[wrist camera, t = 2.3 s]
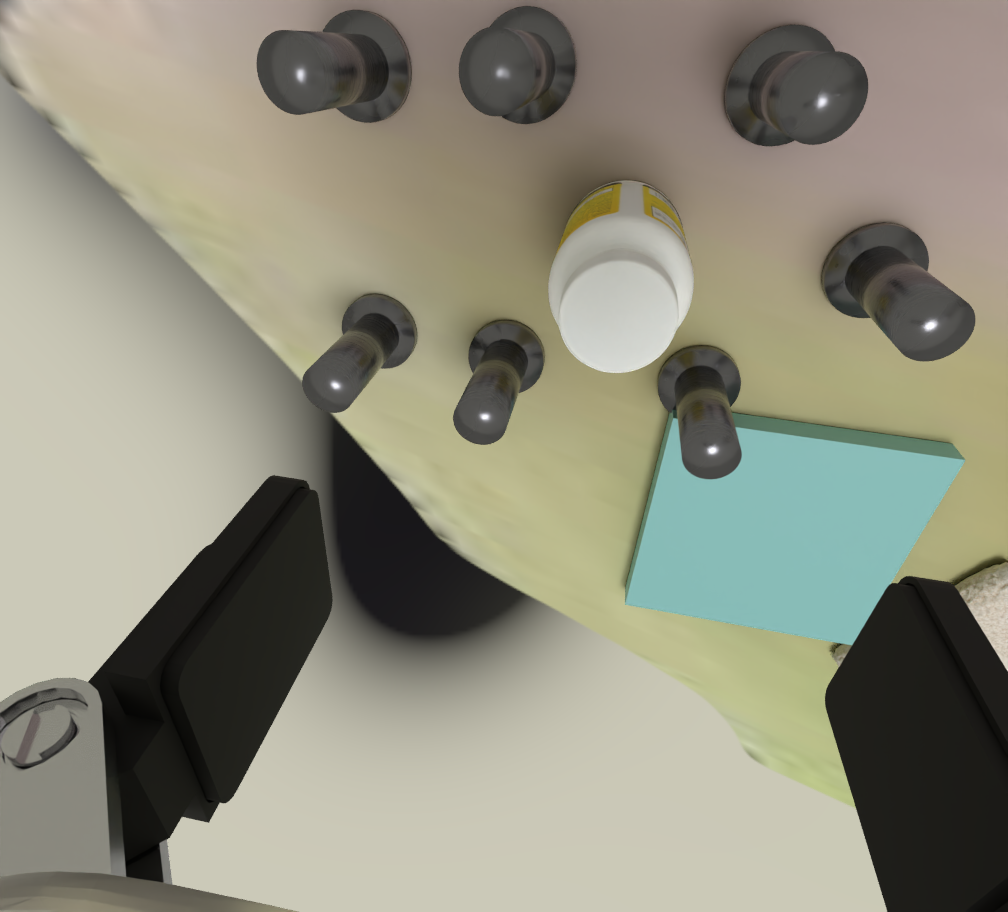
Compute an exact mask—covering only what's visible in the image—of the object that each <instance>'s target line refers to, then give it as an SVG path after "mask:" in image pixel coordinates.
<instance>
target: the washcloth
mask: <svg viewBox="0 0 1008 912" xmlns="http://www.w3.org/2000/svg"><path fill="white" fill-rule="evenodd" d="M954 586H955V588H956V589H957V590H958V591H959V593H960V595H961V596H962V598H963V599H964V601H965V603H966V604H967V606H968V608H969V609H970V611H971V612H972V614H973V616H974V617H975V619H976V621H977V622H978V624H979V625H980V627H981V629H982V630H983V632H984V634H985V635H986V637H987V638H988V640H989V642H990V643H991V645H992V647H993V648H994V650H995V651H996V653H997V655H998V656H999V658H1000V660H1001V661H1002V663H1003V664H1004V666H1005V668H1006V669H1007V671H1008V562H1005V563H1003V564H1001V565H998V564H997V565H993V566H991V567H989V568H984V569H983V570H982V571H980V572H978V573H976V574H974V575H972V576H969V577H967V578H966V579H965V580H963V581H961V582H960V583H958V584H957V585H954ZM851 646H852V645H847V644H842V645H840V646H839V647H838V648H836V649H835V653H834V654H831V655H832V657H833V658H834V660H835V661H836V662H837V664H838V666H840V665H841V663H842V661H843V660H844V658H845V656H846V655H847V653H848V651H849V650H850V648H851Z"/></svg>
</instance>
